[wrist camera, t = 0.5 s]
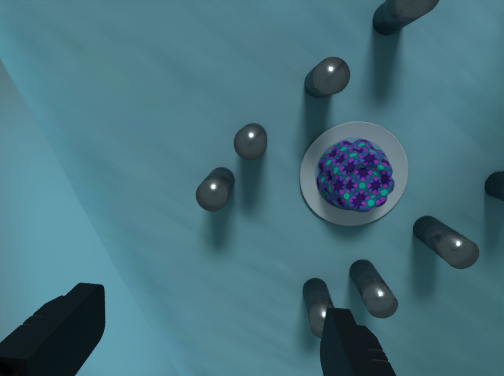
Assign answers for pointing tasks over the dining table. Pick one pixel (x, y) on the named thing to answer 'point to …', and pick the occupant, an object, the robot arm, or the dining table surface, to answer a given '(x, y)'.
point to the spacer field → (425, 228)
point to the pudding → (354, 174)
